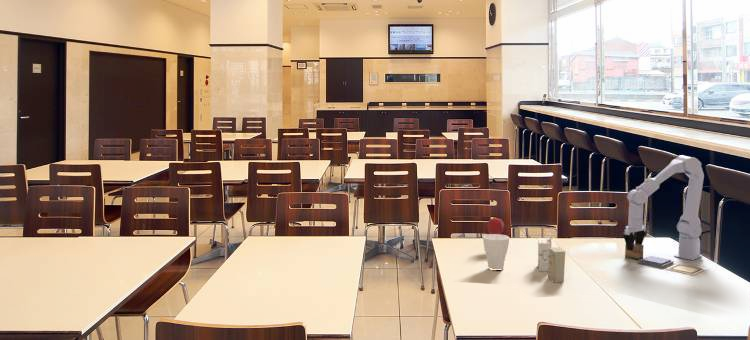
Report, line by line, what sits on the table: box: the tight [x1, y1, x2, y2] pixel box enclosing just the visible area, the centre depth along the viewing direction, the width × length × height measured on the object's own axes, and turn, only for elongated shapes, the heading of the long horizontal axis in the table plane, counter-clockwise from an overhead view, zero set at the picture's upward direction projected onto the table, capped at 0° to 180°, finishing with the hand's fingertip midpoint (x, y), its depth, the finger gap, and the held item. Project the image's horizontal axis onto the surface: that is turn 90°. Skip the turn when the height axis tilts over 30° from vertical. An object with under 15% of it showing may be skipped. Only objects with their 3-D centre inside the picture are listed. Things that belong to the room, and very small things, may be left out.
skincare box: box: [547, 247, 566, 283], centre depth 236 cm, size 6×4×12 cm
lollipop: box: [486, 217, 505, 235], centre depth 281 cm, size 8×8×15 cm
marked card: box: [665, 263, 706, 276], centre depth 249 cm, size 11×11×1 cm
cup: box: [482, 233, 510, 270], centre depth 251 cm, size 10×10×14 cm
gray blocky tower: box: [537, 231, 552, 272], centre depth 251 cm, size 9×5×15 cm, turn 168°
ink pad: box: [638, 255, 674, 269], centre depth 257 cm, size 10×10×2 cm
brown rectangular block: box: [624, 242, 644, 261], centre depth 266 cm, size 4×6×6 cm, turn 41°
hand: (634, 248), depth 266 cm, fingers open, 7 cm apart
